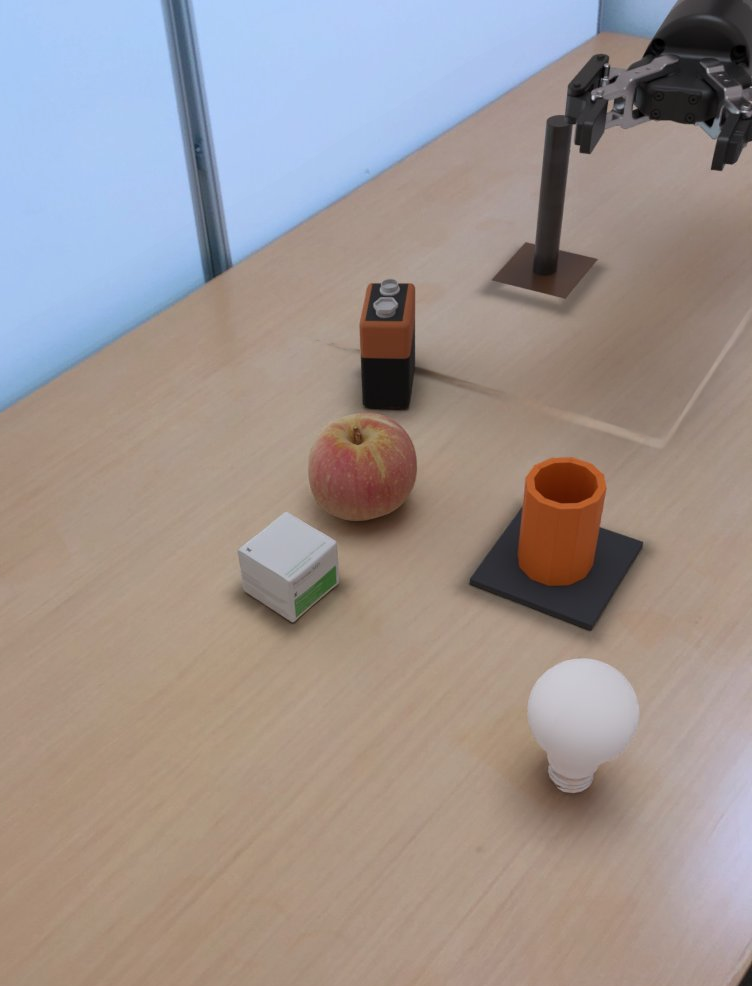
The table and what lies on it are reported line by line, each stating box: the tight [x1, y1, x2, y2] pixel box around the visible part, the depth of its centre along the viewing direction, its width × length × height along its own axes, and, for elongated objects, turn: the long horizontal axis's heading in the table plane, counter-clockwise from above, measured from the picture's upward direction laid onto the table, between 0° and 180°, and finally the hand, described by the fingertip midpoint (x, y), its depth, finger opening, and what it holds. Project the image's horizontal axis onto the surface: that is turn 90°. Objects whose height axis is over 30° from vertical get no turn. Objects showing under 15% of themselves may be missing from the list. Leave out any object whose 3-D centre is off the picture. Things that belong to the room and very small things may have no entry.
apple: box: [307, 412, 418, 522], centre depth 90 cm, size 9×9×8 cm
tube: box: [518, 456, 608, 586], centre depth 83 cm, size 6×6×8 cm
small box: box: [237, 511, 340, 623], centre depth 85 cm, size 6×6×5 cm
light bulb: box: [526, 657, 640, 794], centre depth 69 cm, size 7×7×11 cm
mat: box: [469, 505, 644, 631], centre depth 86 cm, size 10×10×1 cm
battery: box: [358, 278, 416, 410], centre depth 99 cm, size 4×7×10 cm, turn 170°
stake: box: [491, 114, 599, 300], centre depth 106 cm, size 8×8×16 cm
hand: (651, 148), depth 71 cm, fingers open, 8 cm apart
